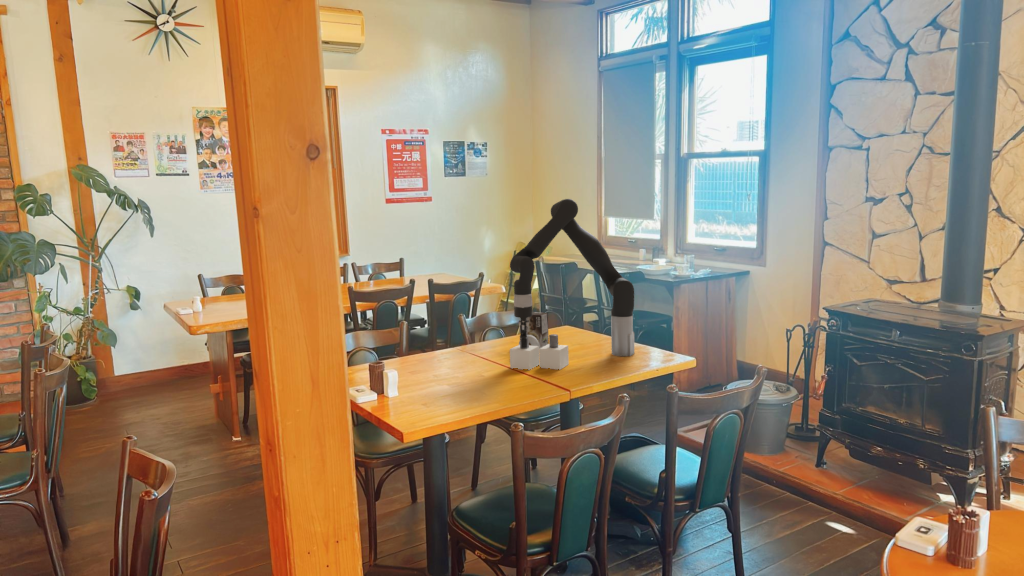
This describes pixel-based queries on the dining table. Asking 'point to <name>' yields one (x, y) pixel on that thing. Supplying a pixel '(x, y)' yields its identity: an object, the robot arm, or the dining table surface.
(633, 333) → the robot arm
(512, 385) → the dining table surface
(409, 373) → the dining table surface
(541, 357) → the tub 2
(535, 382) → the dining table surface
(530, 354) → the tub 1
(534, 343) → the donut
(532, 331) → the grey mechanical block
